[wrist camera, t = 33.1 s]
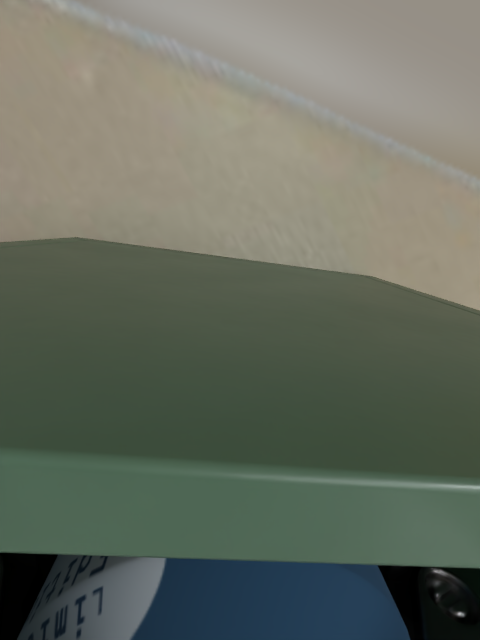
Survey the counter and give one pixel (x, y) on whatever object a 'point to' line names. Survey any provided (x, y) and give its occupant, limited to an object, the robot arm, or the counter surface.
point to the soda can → (211, 601)
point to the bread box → (233, 411)
